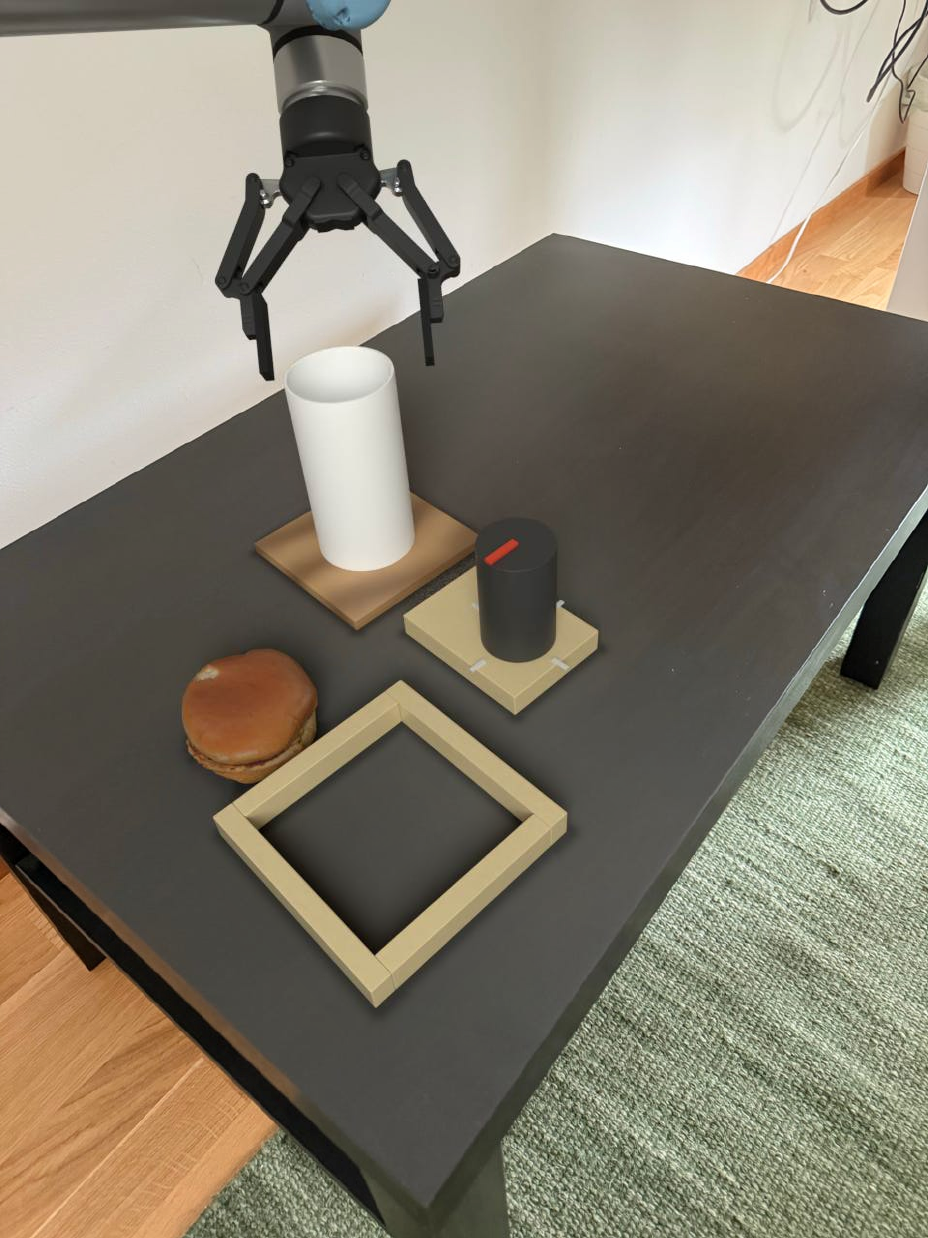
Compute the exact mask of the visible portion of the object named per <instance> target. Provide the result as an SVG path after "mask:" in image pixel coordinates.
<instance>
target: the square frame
mask: <svg viewBox="0 0 928 1238" xmlns="http://www.w3.org/2000/svg"><path fill="white" fill-rule="evenodd" d="M400 723H403V724H404V725H405V726H407V727H408V728H409V729H410V730H412V731H413V732H414V733H415V734H417V736H419V737H420V738H421V739H422V740H424V741H425V742H426V743H427V744H429V745H430V747H432V748H433V749H435V751H437V752H438V753H439V754H440V755H442V757H444V758H445V759H446V760H448V761H449V762H450V763H451V764H452V765H453V766H455V767H456V768H457V769H458V770H460V771H461V772H462V773H463V774H465V776H466V777H468V779H470V780H472V781H473V782H474V783H475V784H476V785H477V786H479V787H480V788H481V789H482V790H483V791H485V792H486V793H487V794H488V795H489V796H491V798H493V799H495V801H496V802H498V803H499V804H500V805H502V807H504V808H505V809H506V810H508V811H509V812H510V813H511V814H512V815H513V816H514V817H516V818H517V819H518V820H519V821H521V822H522V823H520V825H519V826H518V827H517V828H516V829H515V830H513V831H512V832H511V833H510V834H509V835H508V836H507V837H506V838H505V839H503V840H502V841H501V842H500V843H499V844H497V845H496V846H495V847H494V848H493V849H492V850H491V851H490V852H489V853H488V854H486V855H485V856H484V857H483V858H482V859H481V860H480V861H478V863H476V864H475V865H474V866H473V867H472V868H471V869H470V870H469V871H467V873H465V874H464V875H463V876H462V877H460V879H458V880H457V881H456V882H455V883H454V884H452V886H451V887H449V888H448V889H447V890H446V891H445V892H444V893H443V894H441V896H440V897H438V898H437V899H436V900H435V901H434V902H432V904H430V906H428V907H427V908H426V909H424V911H423V912H421V914H419V915H418V916H417V917H416V918H414V920H413V921H412V922H410V923H409V924H408V925H407V926H405V927H404V929H402V930H401V931H400V932H399V933H398V934H396V936H395V937H393V938H392V939H391V940H390V941H389V942H388V943H387V944H386V945H385V946H383V947H382V948H381V949H380V950H378V952H377V953H376V954H374V953H373V952H372V951H371V950H370V949H369V948H368V947H367V946H366V945H365V944H364V942H362V940H360V938H359V937H358V936H357V935H356V934H355V933H354V932H353V931H352V930H351V929H350V928H349V926H347V924H346V923H345V922H344V921H343V920H342V919H341V918H340V917H339V915H337V913H336V912H335V911H333V909H332V908H331V907H330V906H329V905H328V904H327V903H326V902H325V901H324V900H323V899H322V898H321V896H319V894H317V892H316V891H315V890H314V889H313V888H312V887H311V886H310V884H308V882H306V880H305V879H303V877H302V876H301V875H300V874H299V873H298V872H297V871H296V870H295V869H294V868H293V866H291V864H290V863H289V862H288V861H287V860H286V858H284V857H283V856H282V854H281V853H279V851H278V850H277V849H276V848H275V847H274V846H273V845H272V844H271V843H270V842H269V841H268V840H267V839H266V838H265V837H264V836H263V834H261V833H260V831H259V830H260V829H261V828H262V827H264V826H265V825H266V824H268V823H269V822H271V821H272V820H273V819H274V818H276V817H277V816H279V815H280V814H281V813H283V812H284V811H285V810H286V809H288V808H289V807H290V806H291V805H294V803H296V802H297V801H298V800H299V799H301V798H302V797H303V796H305V795H306V794H308V793H309V792H310V791H311V790H313V789H314V788H315V787H317V786H318V785H320V784H322V782H323V781H325V780H326V779H327V778H329V777H330V776H332V775H333V774H334V773H335V772H336V771H338V770H339V769H341V768H342V767H344V766H345V765H346V764H347V763H348V762H350V761H351V760H352V759H354V758H355V757H357V756H358V755H359V754H360V753H363V751H364V750H366V749H367V748H368V747H369V746H371V745H372V744H374V743H376V741H378V740H380V738H382V737H383V736H384V735H386V734H387V733H388V732H390V731H391V730H392V729H394V728H395V727H397V726H398V725H399V724H400ZM212 819H213V822H214V824H215V825H216V828H217V830H218V833H219V835H220V836H221V837H222V838H223V839H224V841H225V842H226V843H227V844H228V845H229V846H230V847H231V848H232V850H233V851H234V852H235V853H236V854H237V855H238V856H239V857H240V858H241V859H242V861H243V863H245V864H246V865H247V866H248V867H249V869H250V870H251V871H252V872H253V873H254V874H255V876H256V877H258V879H259V880H260V881H261V882H262V883H263V884H264V885H265V887H266V888H267V889H268V890H269V891H270V892H271V893H272V894H273V895H274V897H275V898H276V899H277V900H278V901H279V902H280V904H282V906H283V907H284V908H285V909H286V910H287V911H288V912H289V913H290V915H292V917H293V918H294V919H295V920H296V921H297V922H298V924H300V926H301V927H302V928H303V929H304V930H305V931H306V932H307V934H309V936H310V937H311V938H312V939H313V940H314V941H315V942H316V943H317V944H318V946H319V947H320V948H321V949H322V950H323V952H324V953H325V954H327V956H328V957H329V958H330V959H331V961H332V962H333V963H334V964H335V965H336V966H337V967H338V968H339V969H340V970H341V971H342V972H343V973H344V975H345V976H346V977H347V978H348V979H349V981H351V983H352V984H353V985H354V986H355V987H356V988H357V989H358V990H359V992H361V994H362V995H363V996H364V997H365V998H366V999H367V1001H369V1003H370V1004H371V1005H372V1006H373V1007H374V1008H378V1007H379V1006H380V1005H381V1004H382V1003H384V1001H385V1000H386V999H388V997H390V996H391V994H393V993H394V992H395V991H396V990H398V989H399V988H400V987H401V985H403V984H404V983H405V982H406V981H407V980H409V978H411V976H412V975H414V974H415V973H416V972H417V971H418V970H419V969H420V968H421V967H422V966H423V965H424V964H426V963H427V961H429V960H430V959H431V958H432V957H433V956H434V955H435V954H437V953H438V951H440V950H441V949H442V948H443V947H444V946H445V945H446V944H447V943H448V942H449V941H450V940H451V939H452V938H454V936H456V935H457V934H458V933H459V932H460V931H461V930H462V929H463V928H464V927H465V926H466V925H468V923H470V922H471V921H472V920H473V919H474V918H475V917H476V916H477V915H478V914H480V913H481V911H483V910H484V909H485V908H486V907H487V906H488V905H489V904H490V903H491V902H492V901H494V900H495V899H496V898H497V897H498V896H499V895H500V894H501V893H503V891H504V890H506V888H507V887H509V885H511V884H512V883H513V882H514V881H515V880H516V879H518V877H519V876H520V875H522V873H524V872H525V871H526V870H527V869H528V868H529V867H530V866H532V864H534V862H535V861H536V860H538V859H539V858H540V857H541V856H542V855H543V854H544V853H545V852H546V851H548V849H550V847H551V846H553V845H554V844H556V842H557V841H558V840H559V839H560V838H561V837H563V836H564V835H565V833H567V832H568V830H567V829H568V812H567V811H566V810H565V809H564V808H563V807H561V806H560V805H559V804H557V803H556V802H554V800H552V799H551V798H550V797H548V796H547V795H546V794H545V793H544V792H542V791H541V790H539V788H537V787H536V786H535V785H534V784H532V783H531V782H530V781H528V780H527V779H526V778H525V777H523V776H522V775H521V774H520V773H519V772H517V771H516V770H514V768H512V767H511V766H510V765H508V764H507V763H506V762H505V761H503V760H502V759H501V758H500V757H499V756H497V755H496V754H495V753H494V752H492V751H491V750H489V749H488V748H487V747H486V746H485V745H483V744H482V743H481V742H480V741H479V740H478V739H476V738H475V737H473V736H472V735H471V734H469V733H468V732H467V731H466V730H464V729H463V728H462V727H461V726H460V725H459V724H457V723H456V722H455V721H453V720H452V719H451V718H450V717H448V716H447V715H445V713H443V712H442V711H441V710H440V709H438V708H437V707H436V706H435V705H434V704H432V703H431V702H430V701H428V700H427V699H426V698H424V697H423V696H422V695H421V694H419V692H417V691H416V690H415V689H413V688H412V687H411V686H410V685H408V684H407V683H406V682H405V681H403V680H402V679H400V680H398V681H397V682H395V683H394V684H393V685H392V686H390V687H388V688H387V689H386V690H385V691H383V692H381V693H380V694H379V695H378V696H376V697H375V698H374V699H372V700H371V701H370V702H368V703H367V704H365V705H364V706H363V707H362V708H360V709H358V710H357V711H356V712H355V713H353V714H351V715H350V716H349V717H347V718H346V719H345V720H343V721H342V722H341V723H339V724H338V725H337V726H335V727H334V728H332V729H331V730H330V731H329V732H327V733H326V734H324V735H322V737H320V738H319V739H317V740H316V741H315V742H312V744H311V745H310V746H309V747H308V748H306V749H305V750H304V751H302V752H301V753H300V754H298V755H297V756H295V757H294V758H293V759H291V760H290V761H289V762H287V763H286V764H284V765H283V766H282V767H280V768H279V769H278V770H276V771H275V772H273V773H272V774H271V775H269V776H268V777H267V778H265V779H264V780H262V781H259V782H257V784H255V785H254V786H253V787H251V788H250V789H249V790H247V791H246V792H245V793H243V794H242V795H240V796H239V797H238V798H236V799H235V800H234V801H232V803H229V804H228V805H226V807H224V808H222V809H221V810H220V811H218V812H217V813H216V814H214V815H213V816H212Z"/></svg>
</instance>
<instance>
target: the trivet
mask: <svg viewBox="0 0 928 1238" xmlns="http://www.w3.org/2000/svg"><path fill="white" fill-rule="evenodd" d="M410 498H411V506H412V514H413V522H414V530H415V540H414V544H413V546H412V548H411V549H410V551H409V552H408V553H407V554H406V555H405V556H404V557H403V558H402V559H400V560H399V561H397V562H395V563H394V564H392V565H389V566H387V567H384V568H381V569H377V570H372V571H350V570H345V569H342V568H339V567H336V566H334V565H333V564H331V563H330V562H328V561H327V560H326V559H325V558H324V556H323V555H322V553H321V550H320V546H319V542H318V537H317V533H316V528H315V524H314V519H313V515H312V510H311V509H310V510H309V511H307V512H305V513H303V514H302V515H300V516H299V517H297V518H295V519H294V520H292V521H290V522H288V523H286V524H285V525H283V526H281V527H280V528H279V529H277V530H274V531H273V532H271V533H270V534H268V535H266V536H264V537H263V538H261V539H259V540H258V541H256V542H254V549H255V551H256V553H257V554H259V555H260V556H261V557H263V558H264V559H265V560H266V561H267V562H269V563H270V564H271V565H273V566H274V567H275V568H277V569H278V570H279V571H280V572H281V573H283V574H284V575H286V576H287V577H288V578H289V579H291V580H292V582H294V583H296V584H297V585H298V586H299V587H300V588H302V589H303V590H304V591H306V592H307V593H308V594H309V595H311V596H312V597H313V598H315V599H316V600H317V601H318V602H320V603H321V604H322V605H324V607H326V608H327V609H328V610H329V611H332V613H334V615H336V616H337V617H339V618H340V619H341V620H342V621H344V622H345V623H346V624H348V625H349V626H350V627H352V628H353V629H354V630H356V631H359V630H360V629H361V628H363V627H364V626H366V625H368V624H369V623H370V622H372V621H373V620H375V619H376V618H378V617H380V615H383V614H384V613H385V612H387V611H388V610H390V609H391V608H393V607H394V606H396V605H397V604H398V603H400V602H401V601H403V600H404V599H406V598H407V597H409V596H410V595H412V594H413V593H415V592H416V591H417V590H419V589H421V588H423V586H425V585H426V584H428V583H430V582H431V581H432V580H435V579H436V578H437V577H439V576H440V575H441V574H443V573H444V572H445V571H447V570H449V569H450V568H452V567H454V566H455V565H457V563H459V562H461V561H462V560H463V559H465V558H466V557H468V556H469V555H471V554H473V553H475V541H476V538H477V536H478V534H479V533H477V532H476V531H474V530H472V529H471V528H469V527H468V526H466V525H465V524H464V523H461V522H460V521H458V520H456V519H455V518H453V517H452V516H450V515H449V514H447V513H445V512H444V511H442V510H441V509H439V508H437V507H436V506H434V505H432V504H431V503H429V502H427V501H426V500H425V499H423V498H421V497H419V496H418V495H417V494H415V493H413V492H412V491H410Z"/></svg>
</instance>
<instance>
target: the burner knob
mask: <svg viewBox="0 0 928 1238" xmlns="http://www.w3.org/2000/svg"><path fill="white" fill-rule="evenodd" d="M477 534H478V536H477V538H476V541H475V551H474V555H475V557H474V558H475V566H476V572H477V587H478V603H479V618H480V633H481V641H482V644H483V646H484V648H485V649H486V650H487V651H488V652H489V653H490V654H491V655H492V656H494V657H496V658H498V659H500V660H503V661H506V662H512V663H523V662H529V661H533V660H536V659H538V658H540V657H542V656H544V655H545V654H546V653H547V652H548V651H549V650H550V649H551V648H552V646H553V645H554V642H555V639H556V603H557V602H558V601H557V599H558V597H557V595H558V594H557V593H558V546H559V545H558V543H559V541H558V538H557V535H556V534H555V532H554V531H553V530H552V529H551V528H550V527H549V526H547V525H546V524H545V523H543V522H541V521H539V520H536V519H532V518H527V517H508V518H502V519H499V520H496V521H493V522H492V523H489V524H487V525H486V526H485V527H483V528H482V530H480V531H479V533H477Z"/></svg>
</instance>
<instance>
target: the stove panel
mask: <svg viewBox="0 0 928 1238" xmlns="http://www.w3.org/2000/svg"><path fill="white" fill-rule="evenodd" d="M564 604H565V601H564V600H562V599H559V600H558V601H557V603H556V639H555V642H554V645H553V646H552V648H551V649H550V650H549V651H548V652H547V653H546V654H545V655H544V656H542V657H540V658H538V659H536V660H533V661H529V662H523V663H512V662H506V661H503V660H500V659H498V658H496V657H494V656H492V655H491V654H490V653H489V652H488V651H487V650H486V649H485V648H484V646H483V644H482V641H481V633H480V618H479V603H478V587H477V572H476V565H474V566H473V567H471V568H470V569H469V570H467V571H466V572H464V573H463V574H460V576H458V577H457V578H455V579H454V580H452V581H451V582H449V583H448V584H447V585H445V586H444V587H442V588H441V589H440V590H438V591H437V592H435V593H434V594H432V595H430V596H429V597H428V598H426V599H425V600H423V601H422V602H420V603H419V604H417V605H416V606H415V607H413V608H412V609H410V610H409V611H408V612H406V613H404V614H403V616H402V617H403V623H404V629H405V630H404V631H405V634H407V635H408V636H409V637H411V638H412V639H413V640H415V641H416V642H417V643H418V644H420V645H421V646H423V647H424V648H425V649H426V650H428V651H429V652H431V653H432V654H433V655H435V656H436V657H437V658H439V659H440V660H441V661H442V662H444V663H445V664H447V665H448V666H449V667H450V668H452V669H453V670H455V672H457V673H458V674H460V675H461V676H463V678H465V679H466V680H468V681H469V682H470V683H472V684H473V685H474V686H476V687H477V688H478V689H480V690H481V691H482V692H483V693H484V694H486V695H487V696H489V697H490V698H491V699H493V700H494V701H496V702H497V703H498V704H500V705H501V706H502V707H504V708H505V709H506V710H508V711H509V712H510V713H512V714H513V715H514V716H516V715H518V713H520V712H521V711H523V710H524V709H525V708H526V707H527V706H529V705H530V704H531V703H532V702H534V700H536V699H537V698H539V697H540V696H541V695H543V693H545V692H546V691H547V690H549V688H550V687H552V686H553V685H555V684H556V683H557V682H558V681H560V680H561V679H562V678H563V677H564V676H565V675H567V674H568V673H569V672H570V671H571V670H573V669H574V668H575V667H577V666H578V665H579V664H580V663H581V662H583V661H584V660H585V659H586V658H588V657H589V656H590V655H591V654H593V653H595V651H596V650H597V649H598V645H599V630H598V629H596V628H595V627H594V626H592V625H590V624H589V623H587V622H586V621H584V620H582V619H581V618H579V617H578V616H576V615H575V614H573V613H572V612H570V611H568V610H567V609H566V608H564V607H563V606H562V605H564Z"/></svg>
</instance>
